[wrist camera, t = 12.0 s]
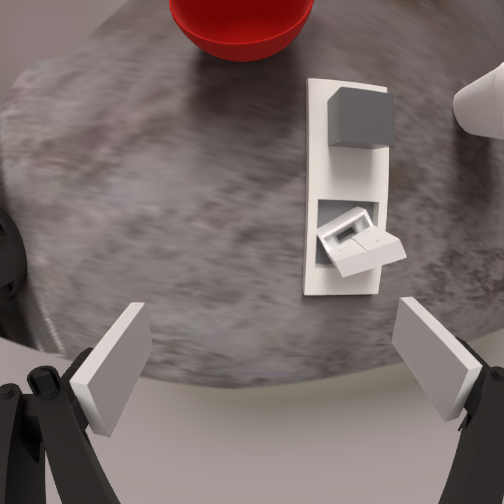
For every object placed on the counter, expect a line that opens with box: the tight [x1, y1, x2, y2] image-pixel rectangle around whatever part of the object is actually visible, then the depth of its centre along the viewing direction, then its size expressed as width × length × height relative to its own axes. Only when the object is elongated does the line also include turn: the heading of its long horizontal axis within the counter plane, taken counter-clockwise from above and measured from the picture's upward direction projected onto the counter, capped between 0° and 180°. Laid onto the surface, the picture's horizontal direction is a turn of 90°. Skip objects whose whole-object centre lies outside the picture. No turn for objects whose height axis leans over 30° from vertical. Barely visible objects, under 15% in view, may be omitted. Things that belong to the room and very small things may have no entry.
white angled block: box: [317, 206, 407, 277], centre depth 30 cm, size 4×10×9 cm, turn 121°
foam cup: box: [453, 62, 504, 139], centre depth 23 cm, size 10×9×13 cm
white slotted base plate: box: [302, 78, 395, 295], centre depth 29 cm, size 9×24×8 cm, turn 0°
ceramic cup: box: [169, 0, 314, 62], centre depth 23 cm, size 13×17×10 cm
